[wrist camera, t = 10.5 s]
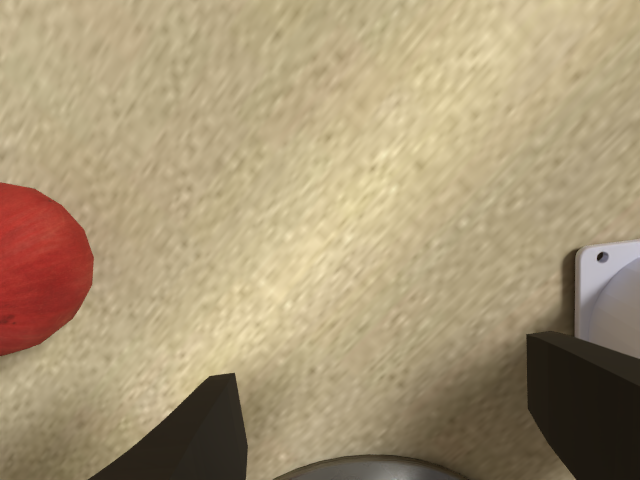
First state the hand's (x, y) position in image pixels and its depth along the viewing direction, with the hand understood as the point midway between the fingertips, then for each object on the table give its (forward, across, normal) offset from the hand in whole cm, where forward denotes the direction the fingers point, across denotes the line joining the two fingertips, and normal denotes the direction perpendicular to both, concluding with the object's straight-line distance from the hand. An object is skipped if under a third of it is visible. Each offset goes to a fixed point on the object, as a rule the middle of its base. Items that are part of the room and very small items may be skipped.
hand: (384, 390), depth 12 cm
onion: (+10, +12, -3) cm, 16 cm away
